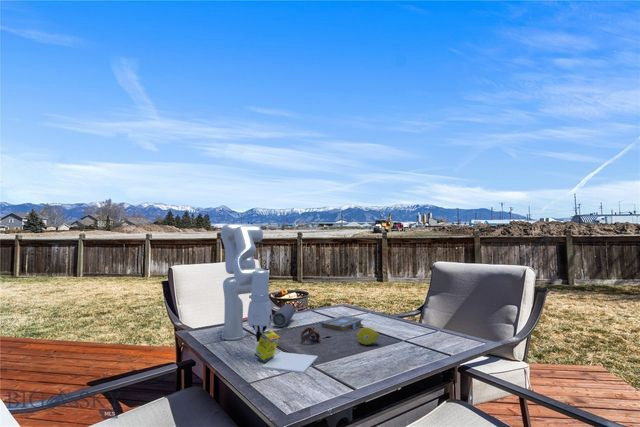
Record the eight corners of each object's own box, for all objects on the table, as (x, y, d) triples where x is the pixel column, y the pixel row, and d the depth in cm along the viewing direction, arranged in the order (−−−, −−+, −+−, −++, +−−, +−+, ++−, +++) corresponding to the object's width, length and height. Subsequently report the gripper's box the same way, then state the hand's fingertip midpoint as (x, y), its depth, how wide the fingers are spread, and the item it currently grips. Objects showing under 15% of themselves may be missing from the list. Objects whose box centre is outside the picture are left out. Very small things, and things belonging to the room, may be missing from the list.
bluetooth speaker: (280, 319, 221) (280, 303, 222) (295, 319, 220) (295, 303, 220) (270, 329, 199) (271, 311, 199) (286, 329, 197) (286, 311, 198)
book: (341, 322, 215) (341, 313, 215) (364, 326, 205) (364, 317, 205) (320, 329, 199) (320, 320, 199) (343, 334, 188) (343, 325, 189)
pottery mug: (322, 345, 170) (314, 332, 168) (305, 353, 171) (297, 340, 170) (323, 332, 181) (315, 319, 180) (307, 340, 183) (299, 327, 181)
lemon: (354, 345, 169) (353, 328, 170) (360, 340, 176) (359, 324, 176) (375, 348, 164) (375, 331, 164) (380, 343, 171) (380, 327, 171)
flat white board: (262, 368, 141) (262, 366, 141) (280, 353, 158) (280, 352, 158) (303, 373, 135) (303, 371, 135) (317, 357, 152) (317, 355, 152)
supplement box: (263, 362, 146) (271, 339, 145) (254, 355, 149) (261, 332, 148) (272, 358, 151) (280, 336, 150) (263, 351, 154) (270, 329, 153)
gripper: (240, 299, 151) (240, 342, 150) (271, 300, 147) (271, 345, 145) (249, 296, 158) (249, 337, 157) (279, 297, 154) (279, 339, 153)
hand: (260, 340), depth 151 cm, fingers closed
